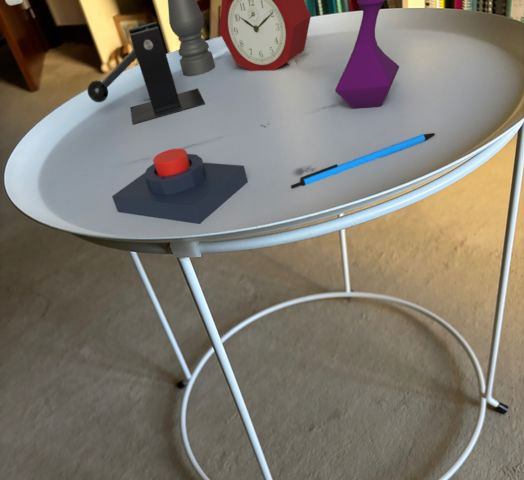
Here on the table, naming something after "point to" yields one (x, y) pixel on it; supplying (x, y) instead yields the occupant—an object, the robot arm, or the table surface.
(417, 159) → the table surface
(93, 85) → the lever
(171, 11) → the candle holder
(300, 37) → the alarm clock
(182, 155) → the button
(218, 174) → the button box
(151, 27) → the bracket
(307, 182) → the pen
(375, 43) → the purple vase
